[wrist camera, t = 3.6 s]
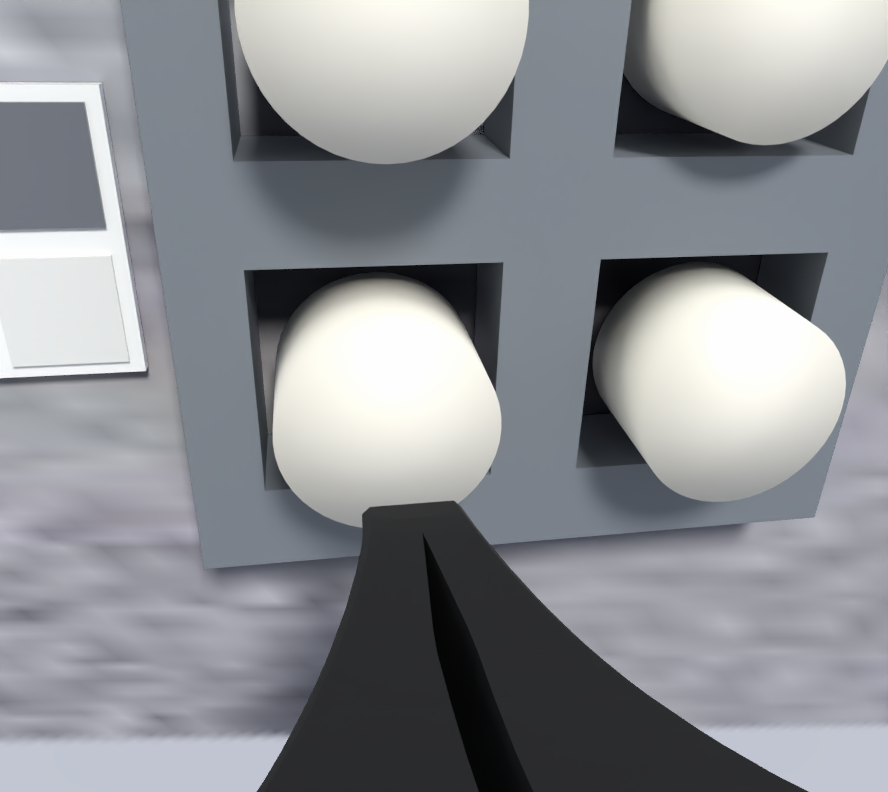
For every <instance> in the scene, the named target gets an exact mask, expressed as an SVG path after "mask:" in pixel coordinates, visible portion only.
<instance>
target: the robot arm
mask: <svg viewBox="0 0 888 792" xmlns="http://www.w3.org/2000/svg"><path fill="white" fill-rule="evenodd" d="M362 533H363V536H362V545H361V551H360V556H359V561H358V566H357V570H356V574H355V578H354V581H353V585H352V588H351V592H350V596H349V599H348V603H347V606H346V609H345V612H344V615H343V618H342V621H341V623H340V626H339V629H338V631H337V634H336V637H335V639H334V642H333V645H332V648H331V650H330V653H329V655H328V658H327V660H326V663H325V665H324V667H323V670H322V672H321V674H320V676H319V679H318V681H317V683H316V685H315V687H314V689H313V692H312V694H311V696H310V698H309V700H308V702H307V704H306V706H305V708H304V710H303V712H302V714H301V716H300V718H299V720H298V722H297V723H296V725H295V727H294V729H293V731H292V733H291V735H290V736H289V738H288V740H287V742H286V744H285V746H284V748H283V750H282V751H281V753H280V755H279V757H278V758H277V760H276V762H275V763H274V765H273V767H272V768H271V770H270V772H269V773H268V775H267V777H266V778H265V780H264V782H263V783H262V785H261V786H260V788H259V789H258V791H257V792H808V791H806V790H804V789H802V788H800V787H798V786H796V785H794V784H792V783H790V782H788V781H786V780H784V779H782V778H780V777H778V776H776V775H775V774H773V773H771V772H769V771H767V770H766V769H764V768H762V767H760V766H758V765H757V764H755V763H754V762H752V761H750V760H748V759H747V758H745V757H743V756H741V755H739V754H738V753H736V752H735V751H733V750H731V749H729V748H728V747H726V746H724V745H722V744H721V743H719V742H718V741H716V740H714V739H713V738H711V737H710V736H708V735H707V734H705V733H703V732H702V731H700V730H699V729H697V728H696V727H694V726H693V725H691V724H690V723H688V722H687V721H685V720H684V719H682V718H681V717H679V716H678V715H676V714H675V713H674V712H672V711H671V710H669V709H668V708H666V707H665V706H663V705H662V704H660V703H659V702H657V701H656V700H654V699H653V698H651V697H650V696H649V695H647V694H646V693H644V692H643V691H642V690H640V689H639V688H638V687H636V686H635V685H634V684H632V683H631V682H630V681H629V680H627V679H626V678H625V677H623V676H622V675H621V674H620V673H619V672H617V671H616V670H615V669H614V668H612V667H611V666H610V665H609V664H608V663H606V662H605V661H604V660H603V659H601V658H600V657H599V656H598V655H597V654H596V653H595V652H593V651H592V650H591V649H590V648H589V647H588V646H587V645H585V644H584V643H583V642H582V641H581V640H580V639H579V638H578V637H577V636H576V635H574V634H573V633H572V632H571V631H570V630H569V629H568V628H567V627H566V626H565V625H564V624H563V623H562V622H561V621H560V620H559V619H558V618H557V617H556V616H555V615H554V614H553V613H552V612H551V611H550V610H549V609H548V608H547V607H546V606H545V605H544V604H543V603H542V602H541V601H540V600H539V599H538V598H537V597H536V596H535V595H534V594H533V593H532V592H531V591H530V590H529V588H528V587H527V586H526V585H525V584H524V583H523V582H522V581H521V580H520V579H519V578H518V576H517V575H516V574H515V573H514V572H513V571H512V570H511V569H510V568H509V566H508V565H507V564H506V563H505V562H504V561H503V560H502V558H501V557H500V556H499V555H498V554H497V552H496V551H495V550H494V549H493V548H492V546H491V545H490V544H489V543H488V541H487V540H486V539H485V538H484V536H483V535H482V534H481V533H480V531H479V530H478V529H477V528H476V526H475V525H474V524H473V522H472V521H471V520H470V518H469V517H468V516H467V514H466V513H465V512H464V510H463V509H462V507H461V506H460V505H459V504H457V503H456V502H455V501H454V500H453V501H440V502H427V503H414V504H401V505H388V506H376V507H369V508H368V509H367V510H366V511H365V512H364V513H363V514H362Z"/></svg>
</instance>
